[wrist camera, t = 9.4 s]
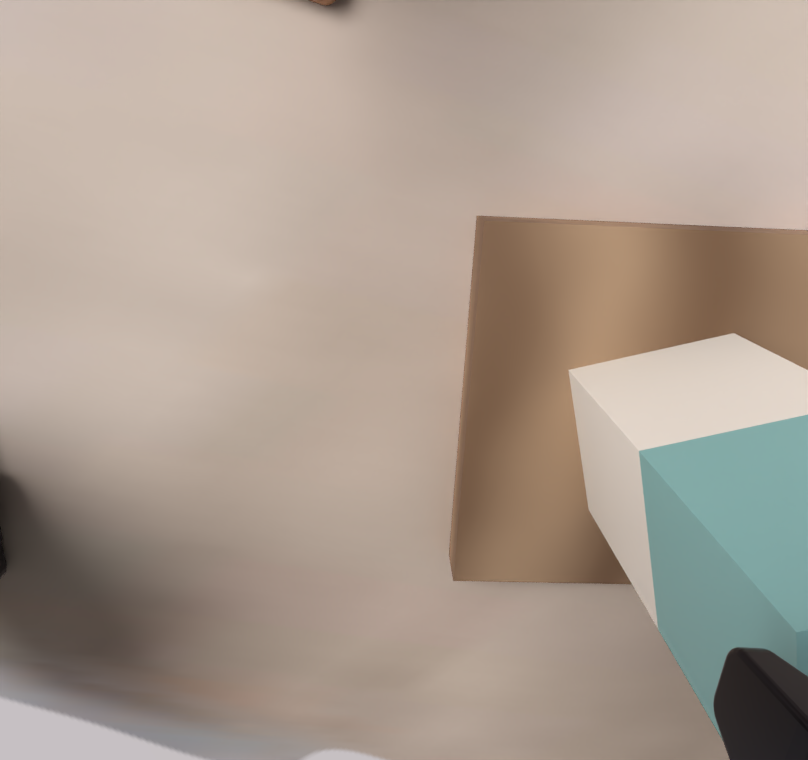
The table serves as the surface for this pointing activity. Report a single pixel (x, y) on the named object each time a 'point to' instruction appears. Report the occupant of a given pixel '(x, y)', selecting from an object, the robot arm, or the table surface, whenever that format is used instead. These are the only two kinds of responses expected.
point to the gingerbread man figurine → (324, 2)
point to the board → (586, 345)
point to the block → (704, 495)
